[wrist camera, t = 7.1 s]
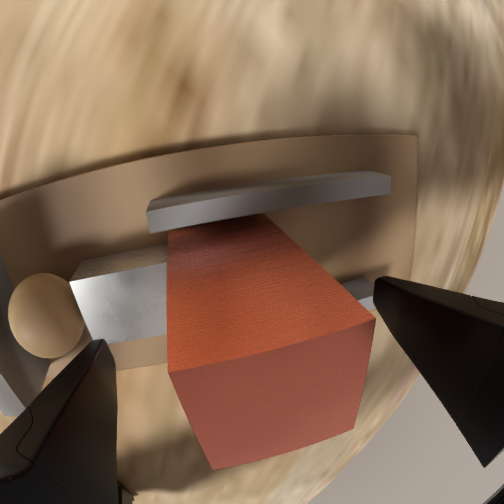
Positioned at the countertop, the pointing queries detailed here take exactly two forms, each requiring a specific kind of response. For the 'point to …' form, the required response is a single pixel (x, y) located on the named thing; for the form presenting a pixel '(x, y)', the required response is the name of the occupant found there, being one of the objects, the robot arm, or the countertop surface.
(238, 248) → the block
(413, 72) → the countertop surface
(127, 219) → the nutcracker base
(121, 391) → the countertop surface
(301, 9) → the countertop surface
